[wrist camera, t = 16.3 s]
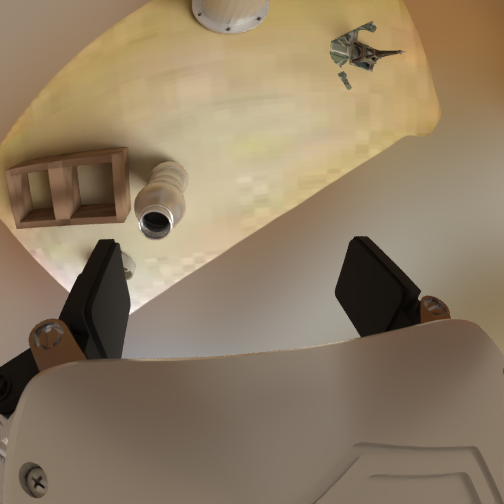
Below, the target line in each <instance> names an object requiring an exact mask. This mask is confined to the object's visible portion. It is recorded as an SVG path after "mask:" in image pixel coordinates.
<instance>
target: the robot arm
mask: <svg viewBox="0 0 504 504" xmlns="http://www.w3.org/2000/svg"><path fill="white" fill-rule="evenodd" d="M268 10H269V0H192V11H193V14H194V16H195V18H196V19H197V21H198V22H199V23H200V24H201V25H202V26H204V27H205V28H207V29H209V30H211V31H213V32H217V33H221V34H239V33H244V32H247V31H250V30H251V29H253V28H255V27H256V26H258V25H259V24H260V23H261V22H262V21H263V20H264V19H265V17H266V16H267V13H268ZM199 14H201V16H198V15H199ZM256 19H259V21H258V20H256ZM226 29H228V30H229V31H226ZM420 292H421V290H420V289H419V288H418V287H417V286H416V285H415V284H414V283H413V282H412V281H411V280H410V278H409V277H408V276H407V275H406V274H405V273H404V272H403V271H402V270H401V269H400V268H399V267H398V266H397V265H396V264H395V263H394V262H393V261H392V260H391V259H390V258H389V257H388V256H387V255H386V254H385V253H384V252H383V251H382V250H381V249H380V248H379V247H378V246H377V245H376V244H375V243H374V242H373V241H372V240H371V239H370V238H369V237H367V236H365V237H364V236H356V237H354V238H353V240H351V241H350V243H349V246H348V249H347V253H346V256H345V259H344V263H343V266H342V269H341V272H340V276H339V279H338V282H337V285H336V288H335V296H336V298H337V299H338V301H339V303H340V304H341V306H342V307H343V309H344V311H345V312H346V314H347V315H348V317H349V319H350V320H351V322H352V323H353V325H354V327H355V328H356V330H357V331H358V333H359V335H360V336H361V337H360V338H355V339H349V340H344V341H338V342H333V343H327V344H321V345H315V346H308V347H301V348H294V349H287V350H278V351H269V352H260V353H251V354H239V355H226V356H211V357H191V358H157V359H156V358H149V359H147V358H145V359H143V358H141V359H121V356H122V349H123V343H124V338H125V332H126V327H127V321H128V316H129V311H130V296H129V291H128V287H127V282H126V277H125V272H124V266H123V261H122V255H121V249H120V244H119V243H115V241H114V239H101V240H99V241H98V243H97V245H96V246H95V248H94V250H93V252H92V254H91V256H90V258H89V260H88V262H87V263H86V265H85V267H84V269H83V271H82V273H81V274H79V276H78V277H77V279H76V281H75V283H74V285H73V287H72V289H71V292H70V294H69V296H68V298H67V300H66V303H65V305H64V307H63V309H62V312H61V314H60V316H59V319H47V320H44V321H42V322H40V323H39V324H37V325H36V326H35V327H34V328H33V329H32V331H31V333H30V335H29V346H30V348H29V349H27V350H26V351H24V352H23V353H21V354H20V355H18V356H17V357H15V358H13V359H12V360H10V361H9V362H7V363H6V364H4V365H3V366H1V367H0V504H504V354H503V353H502V351H501V350H500V349H499V348H498V346H497V345H496V344H495V342H493V340H492V339H491V338H490V337H489V336H488V334H487V333H486V332H485V331H484V330H483V329H482V328H481V327H480V326H479V325H477V324H476V323H474V322H471V321H467V320H462V319H451V317H450V311H449V308H448V307H447V305H446V304H445V303H444V302H443V301H441V300H440V299H438V298H436V297H433V296H428V295H427V296H424V297H422V298H421V300H420V301H419V300H418V296H419V294H420Z"/></svg>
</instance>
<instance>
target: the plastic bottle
mask: <svg viewBox="0 0 504 504" xmlns="http://www.w3.org/2000/svg"><path fill="white" fill-rule="evenodd" d="M187 186H188V174H187V172H186V170H185V169H184V167H183V166H181V165H180V164H179V163H176V162H173V161H166V162H163V163H160V164H158V165H157V166H155V167H154V168H153V169H152V171H151V173H150V175H149V180H148V185H146V186H145V187H144V188H143V189H142V190H141V191H140V192H139V193H138V195H137V197H136V199H135V203H134V210H135V214H136V217H137V219H138V221H139V229H140V231H141V233H142V234H143V235H144V236H145V237H146V238H148V239H151V240H161V239H163V238H165V237H166V236H168V234H169V233H170V231H171V229H172V228H173V227H175V226H176V225H177V224H178V223H179V222H180V221H181V220H182V218H183V216H184V213H185V199H184V196H183V193H184V192H185V190H186V188H187Z"/></svg>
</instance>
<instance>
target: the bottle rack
mask: <svg viewBox="0 0 504 504" xmlns="http://www.w3.org/2000/svg"><path fill="white" fill-rule="evenodd" d="M109 162H112V173H113V187H114V198H115V203H114V204H97V205H82V206H81V199H80V192H79V183H78V174H77V166H79V165H88V164H98V163H109ZM42 170H48V174H49V182H50V189H51V196H52V202H53V207H54V208H46V209H36V210H33V204H32V199H31V193H30V187H29V181H28V173H30V172H36V171H42ZM6 178H7V185H8V191H9V196H10V201H11V206H12V211H13V215H14V220H15V224H16V228H17V229H23V228H36V227H50V226H66V225H85V224H106V223H124V222H125V220H126V218H127V216H128V214H129V212H130V210H131V201H130V188H129V169H128V147H126V148H114V149H103V150H93V151H85V152H77V153H70V154H63V155H56V156H50V157H44V158H39V159H34V160H28V161H24V162H21V163H19V164H17V165H15V166H13V167H11V168H9V169H8V170H6Z"/></svg>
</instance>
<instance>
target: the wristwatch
mask: <svg viewBox="0 0 504 504" xmlns="http://www.w3.org/2000/svg"><path fill="white" fill-rule="evenodd" d="M121 255H122V261H123V266H124V268H127V269H128V270H129V271H128V272H125V277H126V280H129V279H131V278H132V277H133V274H134V270H135V267H136V265H135V262H134V261H133V260H132V259H131V258H130V257H128V256H127V257H126V254H123V253H122V252H121Z"/></svg>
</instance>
